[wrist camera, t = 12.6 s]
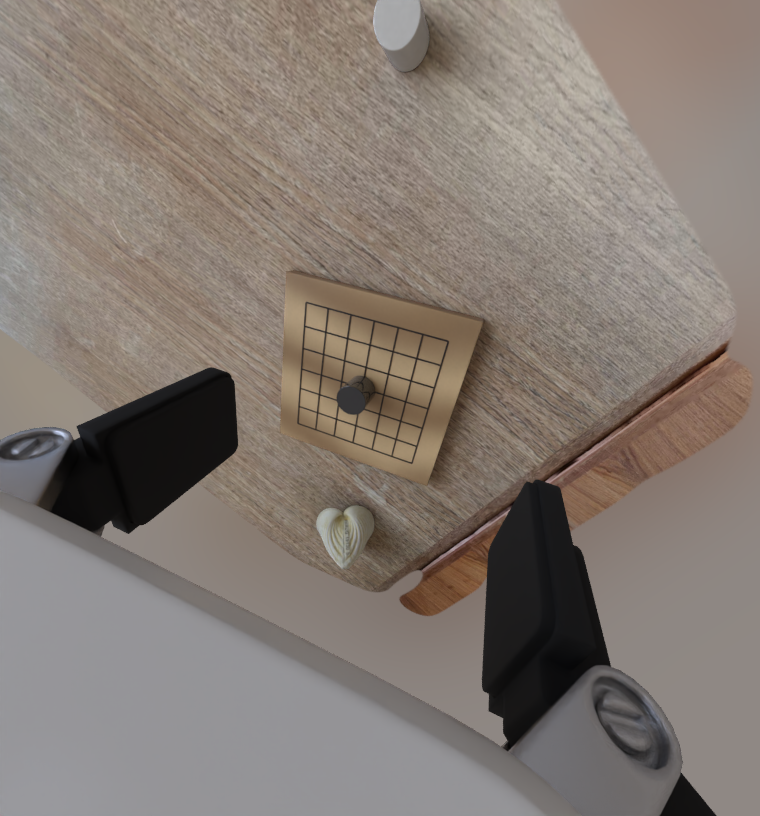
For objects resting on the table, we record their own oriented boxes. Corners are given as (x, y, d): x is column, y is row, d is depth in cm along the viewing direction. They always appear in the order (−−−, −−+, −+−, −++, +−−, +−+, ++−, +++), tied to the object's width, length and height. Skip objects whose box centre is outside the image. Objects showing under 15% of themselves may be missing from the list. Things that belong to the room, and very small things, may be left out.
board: (293, 270, 34) (285, 271, 32) (484, 318, 30) (483, 322, 29) (286, 427, 44) (279, 433, 42) (429, 478, 40) (426, 486, 39)
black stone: (350, 371, 35) (338, 382, 32) (377, 380, 35) (367, 391, 32) (346, 397, 37) (334, 409, 34) (372, 405, 36) (362, 419, 33)
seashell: (374, 507, 42) (377, 572, 41) (372, 496, 50) (375, 550, 49) (311, 511, 41) (313, 577, 40) (319, 500, 50) (321, 554, 49)
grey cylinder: (391, 8, 23) (377, -23, 21) (434, 12, 23) (426, -19, 20) (383, 69, 25) (369, 47, 22) (423, 74, 24) (414, 53, 22)
